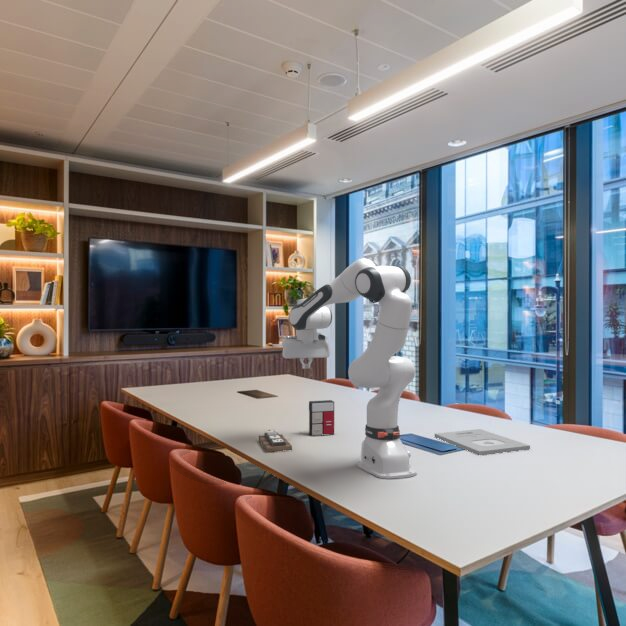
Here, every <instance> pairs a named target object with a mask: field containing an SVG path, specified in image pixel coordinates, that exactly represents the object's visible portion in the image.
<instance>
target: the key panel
mask: <svg viewBox="0 0 626 626" xmlns="http://www.w3.org/2000/svg"><path fill="white" fill-rule="evenodd" d="M278 435H279V436H280V438H277V439H282V440H283V441H284V442H276V443H273V442H272V439H270V438H269V436H275V435H267V434H266V432H264V435H259V436H258V441H259V440H260V442H261V443H262V444H261V443H260V442H259V443H260V444H261V446H262V445H263V446H262V447H263V449H264V448H265V449H264V451H265V452H266V451H267V452H269V453H274V452H273V451H282V452H284V451H283V450H292V451H293V445H292V444H291V443H290V442H289V440H288V439H287V438H285V437H284V435H283V434H279V433H278ZM267 452H266V453H267Z"/></svg>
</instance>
